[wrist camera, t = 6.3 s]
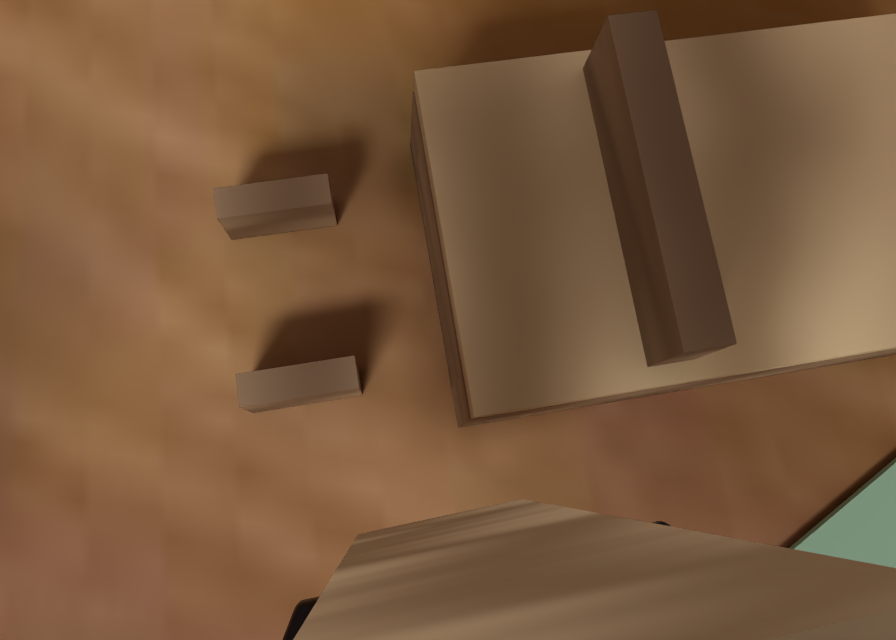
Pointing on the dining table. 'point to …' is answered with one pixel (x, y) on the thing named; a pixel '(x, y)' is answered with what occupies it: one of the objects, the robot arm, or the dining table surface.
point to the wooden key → (591, 583)
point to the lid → (665, 207)
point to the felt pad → (860, 524)
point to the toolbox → (338, 378)
